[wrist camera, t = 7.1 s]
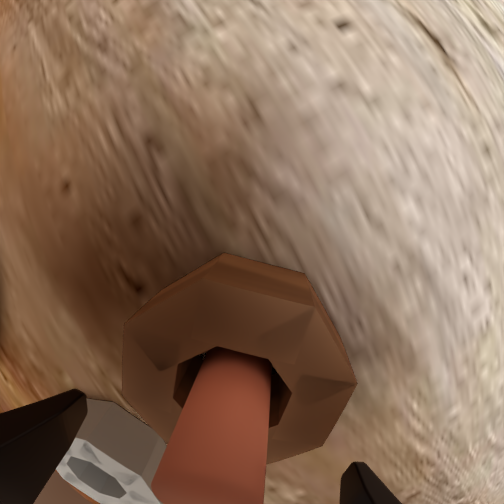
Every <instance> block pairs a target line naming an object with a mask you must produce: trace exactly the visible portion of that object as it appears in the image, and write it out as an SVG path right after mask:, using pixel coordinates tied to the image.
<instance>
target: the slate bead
mask: <svg viewBox="0 0 504 504" xmlns="http://www.w3.org/2000/svg"><path fill="white" fill-rule="evenodd" d="M86 399H87V398H86ZM87 407H88V412H87V416H86V418H85V419H84V421H83V423H82V425H81V427H80V429H79V431H78V433H77V435H76V437H75V439H74V441H73V443H72V445H71V447H70V448H69V450H68V452H67V453H66V455H65V456H64V457H63V459H62V460H61V462H60V463H59V465H58V466H57V468H56V470H57V471H58V472H59V474H60V475H61V476H62V477H63V479H65V480H66V481H67V482H69V483H70V484H72V485H73V486H75V487H76V488H77V489H79V490H80V491H82V492H83V493H85V494H86V495H88V496H90V497H91V498H93V499H94V500H96V501H97V502H99V503H101V504H163V503H162V502H161V501H160V500H159V499H157V497H156V496H155V495H154V493H153V492H152V489H151V482H152V480H153V478H154V475H155V473H156V471H157V468H158V466H159V463H160V461H161V459H162V456H163V454H164V452H165V449H166V447H167V446H166V444H165V441H164V440H163V439H162V438H161V437H160V436H159V435H158V434H157V433H156V432H155V431H154V430H153V429H152V428H151V427H149V426H147V425H146V424H144V423H143V422H141V421H140V420H138V419H137V418H135V417H134V416H133V415H131V414H130V413H128V412H127V411H125V410H124V409H123V408H121V407H120V406H118V405H117V404H116V403H114V402H109V401H101V400H94V399H87Z"/></svg>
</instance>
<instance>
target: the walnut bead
mask: <svg viewBox="0 0 504 504" xmlns="http://www.w3.org/2000/svg"><path fill="white" fill-rule="evenodd" d="M216 346H219V347H223V348H227V349H231V350H234V351H238V352H242V353H246V354H250V355H254V356H258V357H262V358H267V359H269V361H270V362H271V364H272V365H273V367H274V368H275V369H276V371H277V372H278V373H276V374H274V375H272V376H271V392H270V411H269V428H268V444H267V460H266V464H270V463H273V462H277V461H280V460H283V459H286V458H289V457H293V456H296V455H299V454H301V453H304V452H307V451H310V450H313V449H315V448H318V447H321V446H323V444H324V442H325V441H326V439H327V437H328V436H329V434H330V432H331V431H332V429H333V427H334V426H335V424H336V422H337V421H338V419H339V417H340V415H341V413H342V412H343V410H344V408H345V406H346V404H347V403H348V401H349V399H350V397H351V395H352V393H353V391H354V389H355V387H356V385H357V384H358V383H357V381H356V378H355V375H354V372H353V370H352V367H351V364H350V362H349V359H348V356H347V354H346V351H345V349H344V346H343V343H342V341H341V338H340V336H339V334H338V332H337V331H336V329H335V327H334V325H333V323H332V321H331V320H330V318H329V316H328V314H327V312H326V311H325V309H324V307H323V305H322V303H321V302H320V300H319V298H318V296H317V295H316V293H315V291H314V289H313V287H312V286H311V284H310V282H309V280H308V279H307V277H306V275H305V273H301V272H297V271H293V270H289V269H285V268H281V267H277V266H273V265H269V264H266V263H262V262H258V261H254V260H250V259H246V258H242V257H239V256H235V255H231V254H227V253H223V254H221V255H219V256H218V257H216V258H214V259H213V260H211V261H209V262H208V263H206V264H204V265H203V266H201V267H199V268H197V269H196V270H194V271H192V272H191V273H189V274H187V275H186V276H184V277H182V278H181V279H179V280H177V281H176V282H174V283H172V284H171V285H169V286H167V287H166V288H164V289H162V290H161V291H160V292H159V293H157V294H156V295H155V296H154V297H153V298H152V299H151V300H150V301H149V302H148V303H146V304H145V305H144V306H143V307H142V308H141V309H140V310H139V311H138V312H137V313H135V314H134V315H133V316H132V317H131V318H130V319H129V320H128V321H127V322H126V323H125V324H124V335H123V359H122V395H123V397H124V398H125V399H126V400H127V401H128V402H129V404H130V405H131V406H132V407H133V408H134V409H135V410H136V412H137V413H138V414H139V415H140V416H141V417H142V418H143V419H144V420H145V421H146V422H147V423H148V425H149V426H150V427H151V428H152V429H153V430H154V431H155V432H156V433H157V434H158V435H159V436H160V437H161V438H162V439H163V440H164V441H165V442H166V443H167V444H168V442H169V440H170V438H171V435H172V433H173V431H174V428H175V426H176V424H177V421H178V419H179V417H180V414H181V412H182V410H183V407H184V405H185V403H186V400H187V398H188V395H189V393H190V391H191V388H192V386H193V384H194V381H195V379H196V377H197V374H198V372H199V370H200V367H201V365H202V363H203V360H202V358H201V357H200V356H199V354H201V353H203V352H205V351H208V350H210V349H212V348H214V347H216Z"/></svg>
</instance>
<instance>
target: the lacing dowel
mask: <svg viewBox="0 0 504 504" xmlns="http://www.w3.org/2000/svg"><path fill="white" fill-rule="evenodd" d="M271 371H272V364H271V362H270V361H269V359H267V358H262V357H258V356H254V355H250V354H246V353H242V352H238V351H234V350H231V349H227V348H223V347H219V346H216V347H214V348H212V349H210V350H208V351H207V353H206V356H205V358H204V360H203V363H202V365H201V367H200V370H199V372H198V374H197V377H196V379H195V381H194V384H193V386H192V388H191V391H190V393H189V395H188V398H187V400H186V403H185V405H184V407H183V410H182V412H181V414H180V417H179V419H178V421H177V424H176V426H175V428H174V431H173V433H172V435H171V438H170V440H169V442H168V445H167V447H166V449H165V452H164V454H163V456H162V459H161V461H160V463H159V466H158V468H157V471H156V473H155V475H154V478H153V480H152V482H151V489H152V492H153V493H154V495H155V496H156V497H157V499H159V500H160V501H161V502H162V503H163V504H263V501H264V488H265V474H266V460H267V444H268V428H269V411H270V392H271Z"/></svg>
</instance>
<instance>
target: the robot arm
mask: <svg viewBox="0 0 504 504" xmlns="http://www.w3.org/2000/svg"><path fill="white" fill-rule="evenodd" d="M87 412H88V407H87V399H86V395H85V393H83V392H81V391H79V390H77V389H72V390H69V391H66V392H64V393H61V394H58V395H55V396H52V397H49V398H47V399H44V400H41V401H38V402H35V403H32V404H29V405H26V406H23V407H19V408H16V409H13V410H10V411H7V412H3V413H0V504H33V503H34V502H35V500H36V498H37V497H38V495H39V494H40V492H41V491H42V489H43V488H44V486H45V485H46V483H47V481H48V480H49V478H50V477H51V475H52V474H53V472H54V471H55V469H56V468H57V466H58V465H59V463H60V462H61V460H62V459H63V457H64V456H65V455H66V453H67V452H68V450H69V448H70V447H71V445H72V443H73V441H74V439H75V437H76V435H77V433H78V431H79V429H80V427H81V425H82V423H83V421H84V419H85V418H86V416H87ZM340 504H402V503H401V502H400V501H399V500H398V499H397V498H396V497H395V496H394V494H393V493H392V492H391V491H390V490H389V489H388V488H387V487H386V486H385V485H384V483H383V482H382V481H381V480H380V479H379V478H378V477H377V476H376V474H375V473H374V472H373V471H372V470H371V469H370V468H369V467H368V465H367V464H366V463H364V462H353V463H351V464H350V466H349V467H348V468H347V470H346V471H345V472H344V473H343V475H342V477H341V486H340Z"/></svg>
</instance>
